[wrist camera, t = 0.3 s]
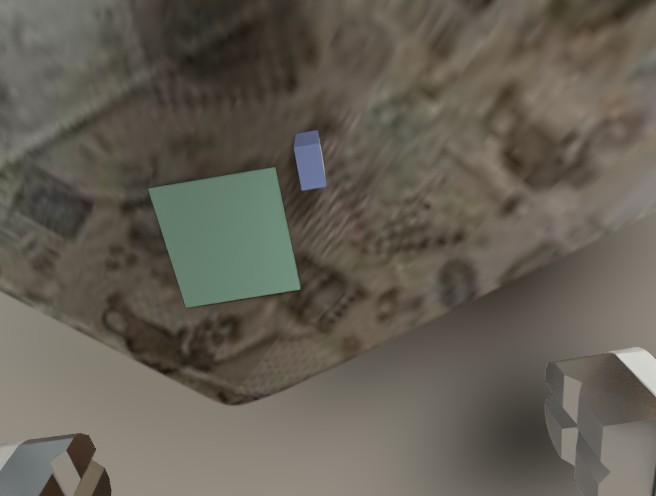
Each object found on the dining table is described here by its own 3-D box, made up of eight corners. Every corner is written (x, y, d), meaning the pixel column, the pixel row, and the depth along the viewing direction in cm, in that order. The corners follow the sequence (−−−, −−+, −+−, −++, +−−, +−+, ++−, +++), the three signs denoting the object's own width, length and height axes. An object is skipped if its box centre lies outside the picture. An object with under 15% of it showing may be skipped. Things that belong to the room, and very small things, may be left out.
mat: (149, 188, 54) (148, 189, 53) (275, 166, 53) (275, 167, 53) (186, 306, 60) (186, 307, 59) (300, 287, 59) (300, 289, 59)
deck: (295, 133, 52) (293, 147, 45) (318, 130, 52) (319, 143, 45) (302, 172, 54) (301, 190, 47) (324, 168, 53) (326, 186, 47)
